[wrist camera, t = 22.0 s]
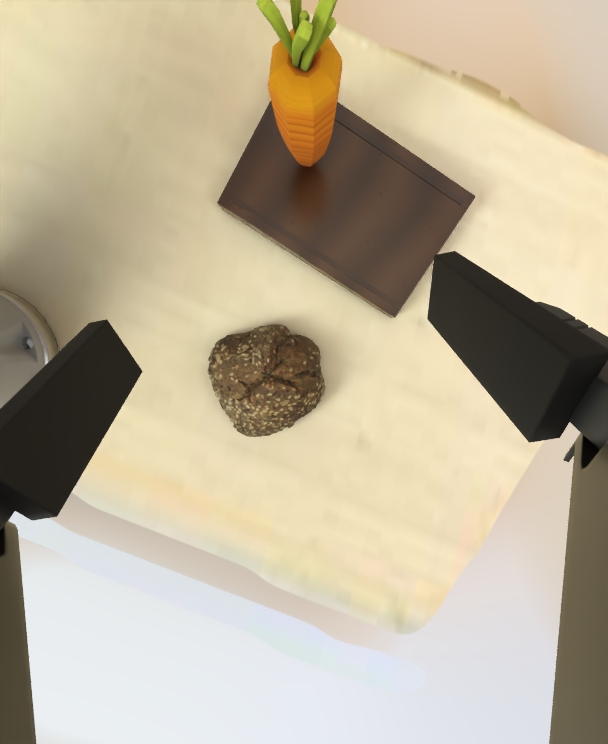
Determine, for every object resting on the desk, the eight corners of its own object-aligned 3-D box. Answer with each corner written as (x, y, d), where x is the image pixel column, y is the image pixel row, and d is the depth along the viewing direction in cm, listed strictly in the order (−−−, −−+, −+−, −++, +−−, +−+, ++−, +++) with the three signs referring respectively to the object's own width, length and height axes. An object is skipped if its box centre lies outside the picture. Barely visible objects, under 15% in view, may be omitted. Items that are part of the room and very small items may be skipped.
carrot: (274, 172, 29) (232, 11, 14) (299, 124, 28) (283, -99, 13) (316, 199, 29) (318, 68, 14) (342, 152, 29) (373, -36, 14)
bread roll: (238, 441, 35) (226, 460, 30) (200, 344, 34) (181, 347, 29) (339, 409, 34) (343, 423, 29) (305, 308, 32) (303, 304, 28)
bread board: (221, 208, 31) (216, 202, 30) (289, 80, 29) (287, 66, 28) (391, 318, 32) (395, 317, 31) (468, 202, 30) (476, 195, 29)
